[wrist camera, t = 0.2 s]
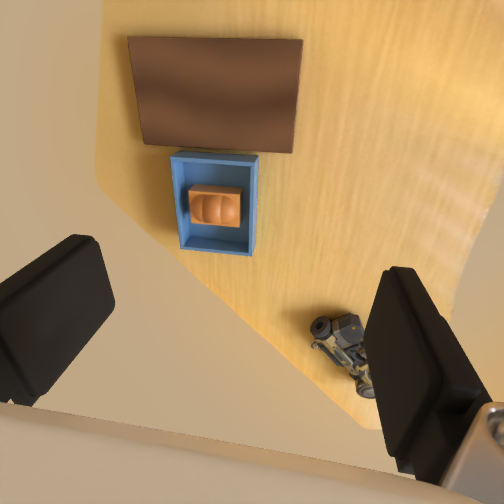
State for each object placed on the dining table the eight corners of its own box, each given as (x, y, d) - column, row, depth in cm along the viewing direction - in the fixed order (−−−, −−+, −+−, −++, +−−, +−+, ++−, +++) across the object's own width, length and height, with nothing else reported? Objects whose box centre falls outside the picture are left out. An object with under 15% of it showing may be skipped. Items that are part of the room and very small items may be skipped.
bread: (194, 183, 47) (183, 194, 43) (243, 187, 46) (237, 199, 42) (197, 215, 50) (187, 228, 45) (242, 219, 49) (237, 232, 44)
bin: (179, 150, 45) (169, 156, 42) (258, 155, 43) (255, 162, 40) (188, 237, 53) (180, 249, 49) (255, 244, 51) (252, 256, 48)
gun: (372, 311, 49) (299, 343, 56) (442, 395, 57) (370, 414, 64) (367, 293, 53) (299, 325, 60) (433, 374, 61) (367, 394, 68)
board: (132, 37, 38) (126, 36, 37) (303, 40, 36) (303, 39, 34) (148, 142, 45) (143, 144, 44) (292, 151, 42) (292, 153, 41)
